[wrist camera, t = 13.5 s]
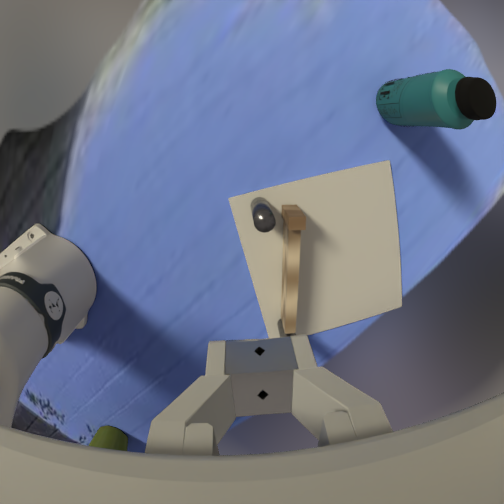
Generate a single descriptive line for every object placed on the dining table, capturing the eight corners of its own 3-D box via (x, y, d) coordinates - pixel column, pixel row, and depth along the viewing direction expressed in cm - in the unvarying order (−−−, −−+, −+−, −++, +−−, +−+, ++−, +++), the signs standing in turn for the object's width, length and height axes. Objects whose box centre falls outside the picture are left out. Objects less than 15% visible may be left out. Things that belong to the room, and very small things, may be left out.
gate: (292, 315, 49) (298, 339, 43) (279, 316, 48) (284, 340, 43) (296, 204, 42) (306, 216, 37) (281, 204, 42) (288, 216, 37)
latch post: (252, 215, 43) (256, 234, 36) (248, 199, 42) (251, 214, 35) (270, 211, 43) (277, 229, 36) (265, 194, 42) (272, 209, 35)
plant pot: (127, 419, 58) (116, 460, 47) (143, 449, 62) (136, 487, 52) (81, 415, 58) (66, 453, 47) (100, 445, 62) (90, 480, 52)
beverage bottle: (405, 131, 40) (503, 144, 21) (365, 119, 39) (455, 120, 20) (412, 89, 37) (510, 81, 19) (372, 75, 37) (461, 51, 18)
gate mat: (270, 343, 51) (271, 344, 51) (228, 198, 42) (228, 198, 42) (400, 305, 50) (401, 306, 50) (388, 160, 41) (389, 160, 41)
